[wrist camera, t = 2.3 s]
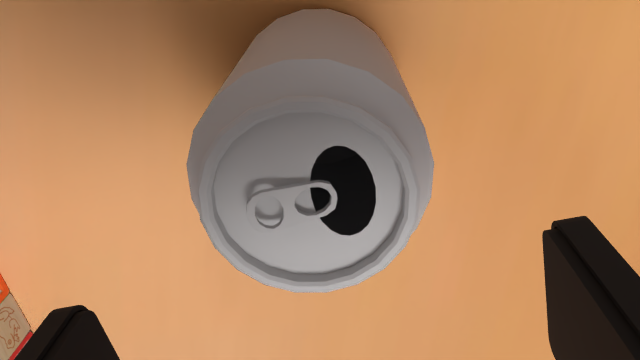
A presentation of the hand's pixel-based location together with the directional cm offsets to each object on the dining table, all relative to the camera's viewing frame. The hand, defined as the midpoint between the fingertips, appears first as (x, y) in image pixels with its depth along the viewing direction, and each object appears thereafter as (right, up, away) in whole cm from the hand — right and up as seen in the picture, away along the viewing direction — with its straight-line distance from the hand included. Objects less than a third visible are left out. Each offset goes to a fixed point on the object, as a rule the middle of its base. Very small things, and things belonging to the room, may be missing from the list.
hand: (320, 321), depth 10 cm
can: (0, +8, +14) cm, 16 cm away
